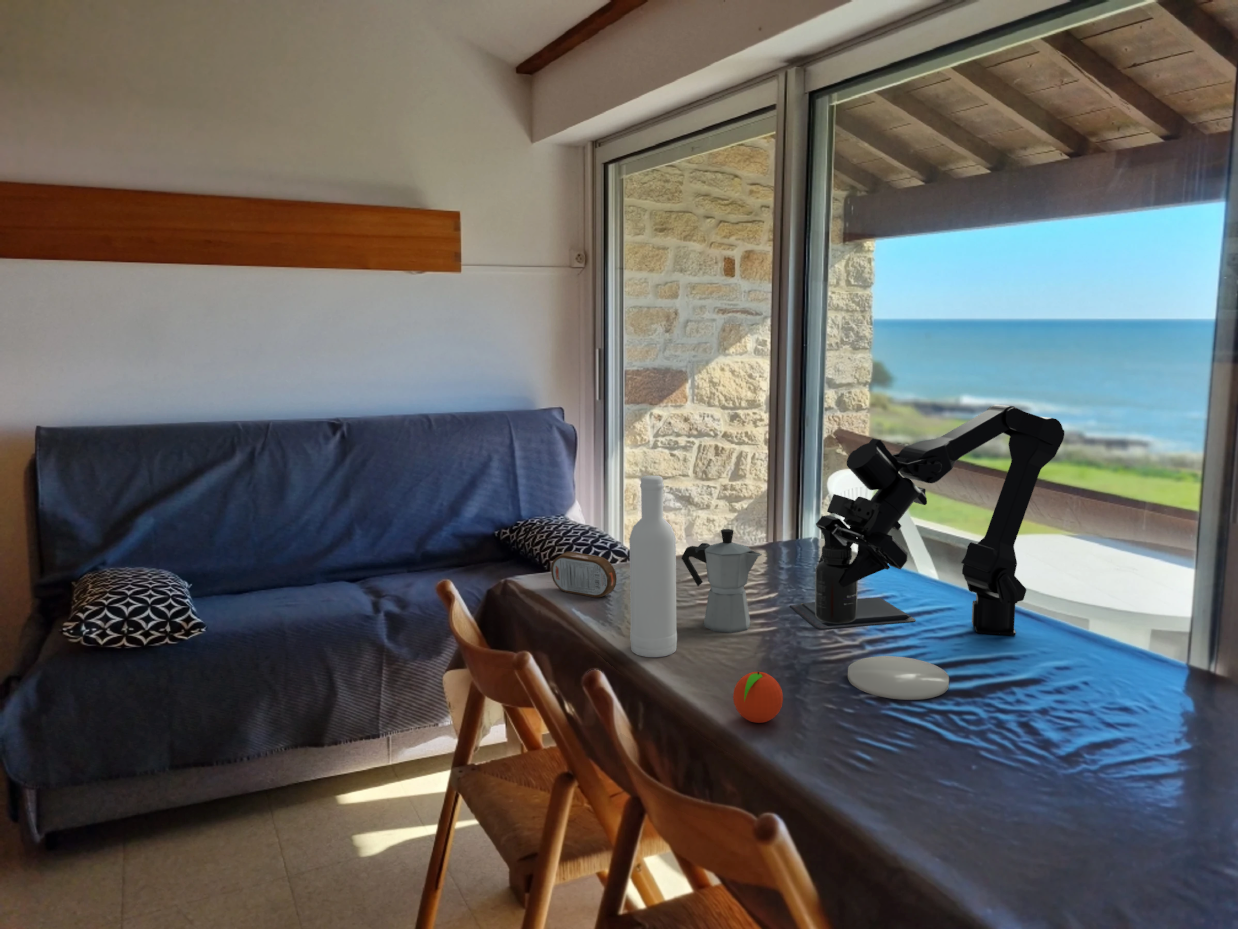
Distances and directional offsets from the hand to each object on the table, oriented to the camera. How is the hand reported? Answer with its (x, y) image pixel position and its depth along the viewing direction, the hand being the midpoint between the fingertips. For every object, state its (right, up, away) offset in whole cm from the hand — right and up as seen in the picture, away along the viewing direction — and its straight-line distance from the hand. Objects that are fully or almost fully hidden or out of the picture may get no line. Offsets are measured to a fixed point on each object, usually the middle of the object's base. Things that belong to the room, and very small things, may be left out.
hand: (829, 580), depth 155 cm
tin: (-42, -8, +40) cm, 59 cm away
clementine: (-15, -17, -23) cm, 32 cm away
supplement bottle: (+1, -7, +1) cm, 7 cm away
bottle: (-29, -13, +7) cm, 32 cm away
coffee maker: (-16, -11, +19) cm, 27 cm away
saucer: (+9, -14, -9) cm, 19 cm away
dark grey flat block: (+10, -10, +25) cm, 29 cm away
